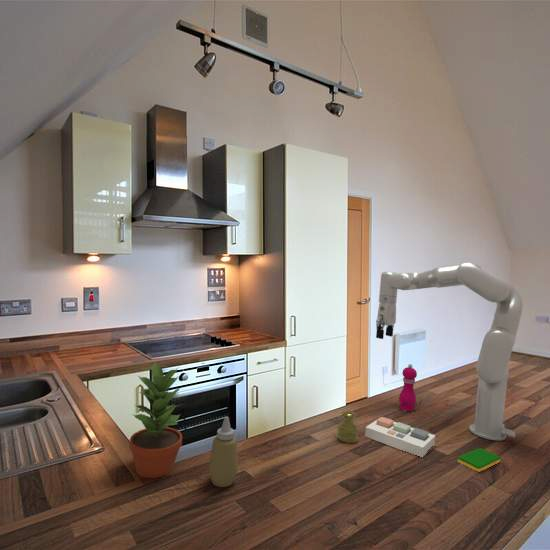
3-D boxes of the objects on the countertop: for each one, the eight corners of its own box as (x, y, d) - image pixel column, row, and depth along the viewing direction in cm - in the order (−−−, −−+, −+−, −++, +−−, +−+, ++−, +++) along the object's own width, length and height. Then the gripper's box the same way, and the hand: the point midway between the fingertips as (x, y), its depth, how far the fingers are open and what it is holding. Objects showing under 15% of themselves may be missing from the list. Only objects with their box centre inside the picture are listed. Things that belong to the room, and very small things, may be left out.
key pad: (434, 445, 140) (435, 434, 140) (422, 457, 130) (422, 446, 130) (380, 426, 153) (381, 416, 153) (364, 436, 143) (365, 426, 143)
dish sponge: (500, 463, 131) (501, 456, 130) (478, 474, 123) (479, 467, 122) (479, 454, 136) (479, 447, 136) (456, 464, 128) (457, 456, 128)
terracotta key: (393, 428, 147) (393, 420, 147) (388, 431, 143) (388, 424, 143) (381, 424, 150) (382, 416, 150) (376, 427, 146) (376, 420, 146)
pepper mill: (412, 413, 168) (416, 367, 167) (395, 408, 173) (399, 363, 172) (417, 409, 174) (421, 364, 173) (401, 404, 178) (405, 361, 177)
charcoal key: (428, 440, 139) (428, 432, 139) (423, 444, 135) (424, 436, 135) (415, 435, 142) (415, 427, 141) (410, 439, 138) (411, 431, 138)
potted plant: (153, 490, 103) (160, 376, 101) (116, 469, 111) (122, 364, 109) (194, 466, 115) (200, 365, 114) (158, 449, 123) (163, 355, 122)
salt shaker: (334, 440, 138) (336, 412, 138) (339, 432, 145) (341, 405, 145) (355, 445, 135) (357, 417, 135) (359, 436, 142) (361, 409, 142)
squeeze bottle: (213, 493, 103) (217, 425, 102) (203, 476, 110) (207, 413, 109) (241, 486, 107) (246, 421, 106) (230, 471, 114) (235, 410, 113)
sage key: (410, 433, 143) (410, 426, 143) (405, 437, 139) (406, 429, 139) (397, 429, 146) (398, 422, 146) (392, 433, 142) (393, 425, 142)
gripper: (387, 301, 168) (383, 341, 168) (403, 299, 181) (400, 336, 182) (371, 299, 172) (367, 337, 173) (388, 297, 186) (384, 333, 186)
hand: (384, 337), depth 177 cm, fingers open, 9 cm apart
